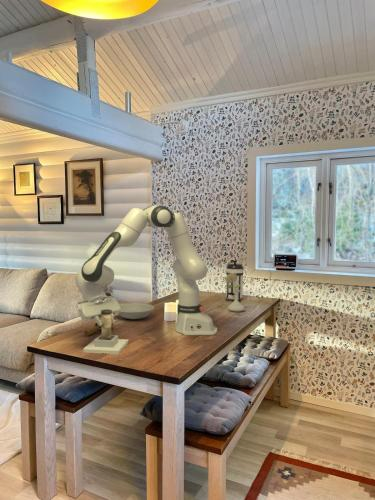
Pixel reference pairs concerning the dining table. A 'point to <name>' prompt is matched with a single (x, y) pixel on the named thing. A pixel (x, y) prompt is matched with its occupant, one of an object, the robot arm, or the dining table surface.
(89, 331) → the kendama
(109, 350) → the holder
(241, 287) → the coffee press
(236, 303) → the flower in vase
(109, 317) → the peg
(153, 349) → the dining table surface
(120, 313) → the soup bowl
